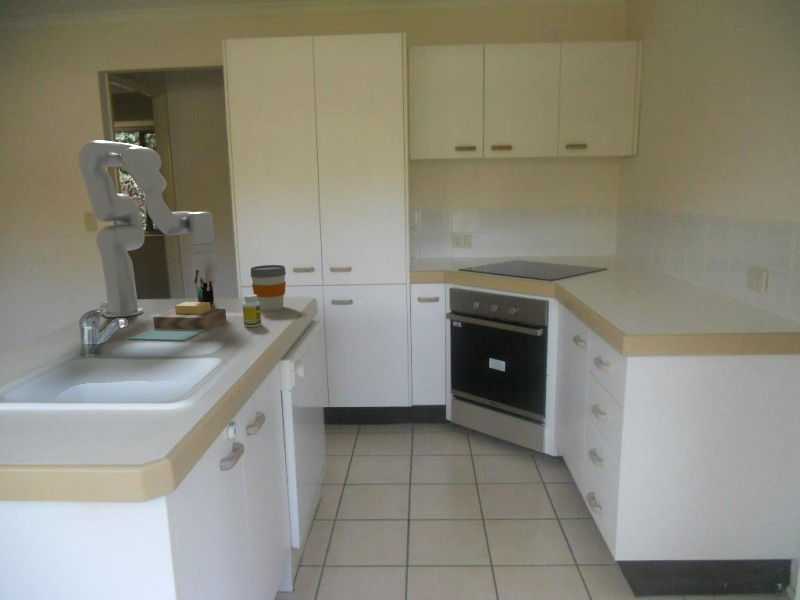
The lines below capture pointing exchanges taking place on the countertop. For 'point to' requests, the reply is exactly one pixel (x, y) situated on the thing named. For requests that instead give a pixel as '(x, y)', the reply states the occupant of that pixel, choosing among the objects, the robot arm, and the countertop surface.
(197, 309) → the yellow sponge
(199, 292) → the food container
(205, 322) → the brown wooden block
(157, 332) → the mat
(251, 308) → the supplement bottle
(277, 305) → the reusable coffee cup
